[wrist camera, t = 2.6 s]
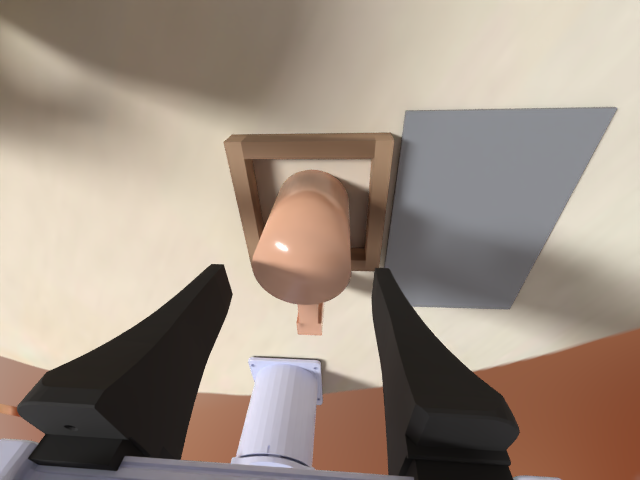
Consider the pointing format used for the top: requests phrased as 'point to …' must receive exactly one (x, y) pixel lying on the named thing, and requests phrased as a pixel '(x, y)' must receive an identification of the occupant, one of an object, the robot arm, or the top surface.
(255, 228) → the holder
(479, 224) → the mat
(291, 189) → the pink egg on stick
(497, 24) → the top surface
